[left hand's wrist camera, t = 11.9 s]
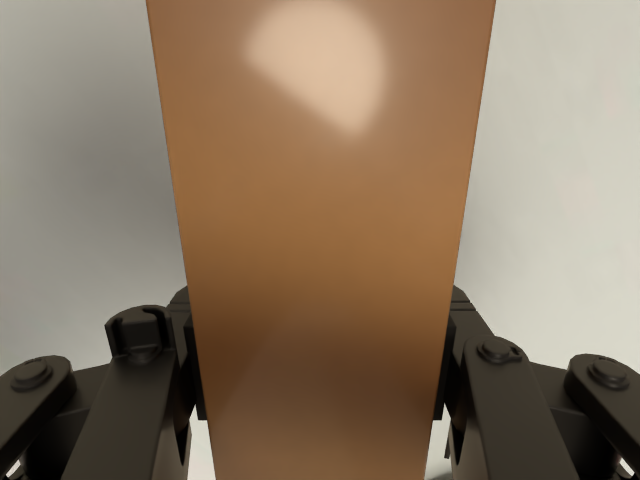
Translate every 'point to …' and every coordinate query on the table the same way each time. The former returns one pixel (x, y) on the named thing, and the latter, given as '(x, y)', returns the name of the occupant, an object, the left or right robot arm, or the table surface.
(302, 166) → the beam
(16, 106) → the table surface
